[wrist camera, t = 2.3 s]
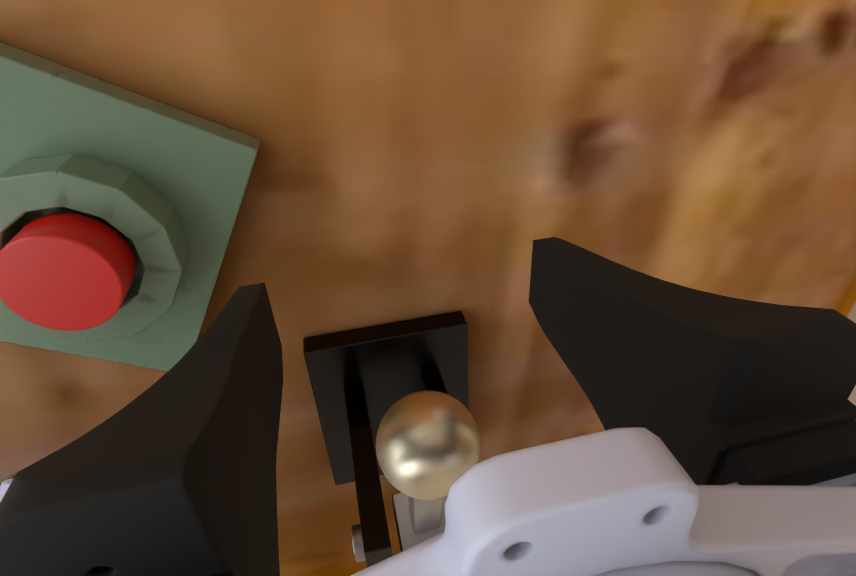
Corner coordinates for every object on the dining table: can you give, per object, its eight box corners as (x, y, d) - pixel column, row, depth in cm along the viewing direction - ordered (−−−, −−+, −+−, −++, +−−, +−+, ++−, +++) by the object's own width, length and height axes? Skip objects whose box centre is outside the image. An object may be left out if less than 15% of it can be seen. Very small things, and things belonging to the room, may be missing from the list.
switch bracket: (302, 337, 25) (308, 518, 17) (460, 310, 26) (536, 465, 18) (333, 468, 30) (349, 652, 22) (463, 440, 32) (522, 604, 24)
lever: (364, 382, 14) (383, 490, 12) (468, 362, 15) (501, 464, 13) (384, 508, 23) (396, 581, 22) (447, 494, 24) (464, 564, 22)
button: (126, 313, 19) (113, 341, 18) (10, 288, 18) (-15, 317, 16) (146, 231, 18) (133, 255, 16) (21, 196, 16) (-5, 219, 15)
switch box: (191, 355, 24) (178, 404, 21) (-49, 308, 20) (-100, 360, 18) (260, 139, 20) (255, 166, 17) (-31, 29, 16) (-95, 43, 13)
